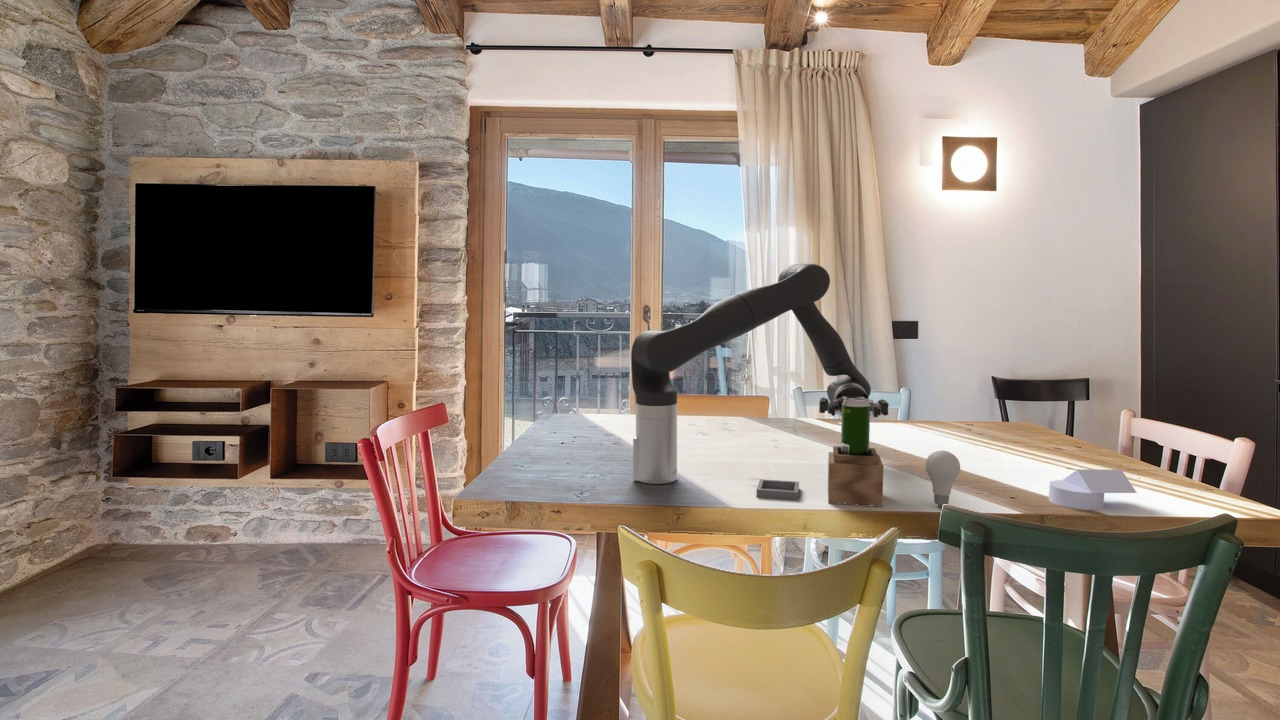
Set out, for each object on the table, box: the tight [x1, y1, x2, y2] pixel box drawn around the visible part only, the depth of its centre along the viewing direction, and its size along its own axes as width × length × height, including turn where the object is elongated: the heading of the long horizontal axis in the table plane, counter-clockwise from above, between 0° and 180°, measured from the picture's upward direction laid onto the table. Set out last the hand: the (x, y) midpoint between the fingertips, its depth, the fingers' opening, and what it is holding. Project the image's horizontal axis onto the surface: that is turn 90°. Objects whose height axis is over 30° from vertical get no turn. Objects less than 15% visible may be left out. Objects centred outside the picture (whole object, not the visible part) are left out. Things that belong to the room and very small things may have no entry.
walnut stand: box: [827, 445, 884, 507], centre depth 134 cm, size 10×10×10 cm
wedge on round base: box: [1048, 469, 1138, 511], centre depth 130 cm, size 9×7×13 cm
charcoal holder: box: [756, 478, 800, 501], centre depth 138 cm, size 8×8×2 cm
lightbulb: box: [924, 450, 961, 508], centre depth 128 cm, size 6×6×11 cm
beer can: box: [840, 398, 871, 456], centre depth 133 cm, size 5×5×12 cm
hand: (854, 411), depth 139 cm, fingers open, 8 cm apart
